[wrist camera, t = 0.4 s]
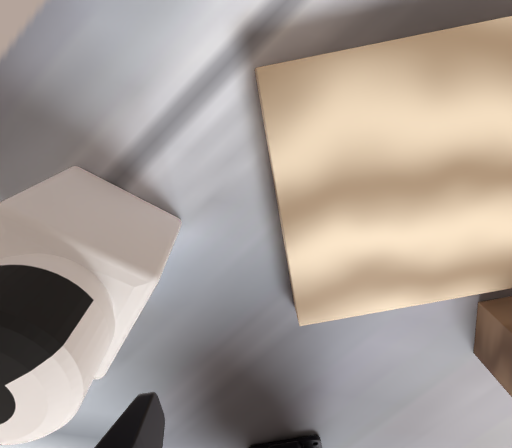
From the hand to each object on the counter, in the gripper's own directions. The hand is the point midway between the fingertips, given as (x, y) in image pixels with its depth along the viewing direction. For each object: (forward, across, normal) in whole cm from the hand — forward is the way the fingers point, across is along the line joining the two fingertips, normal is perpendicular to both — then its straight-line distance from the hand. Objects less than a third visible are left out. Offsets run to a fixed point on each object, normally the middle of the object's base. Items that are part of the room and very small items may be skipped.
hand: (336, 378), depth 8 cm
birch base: (+14, -8, 0) cm, 16 cm away
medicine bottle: (+14, +11, +1) cm, 18 cm away
